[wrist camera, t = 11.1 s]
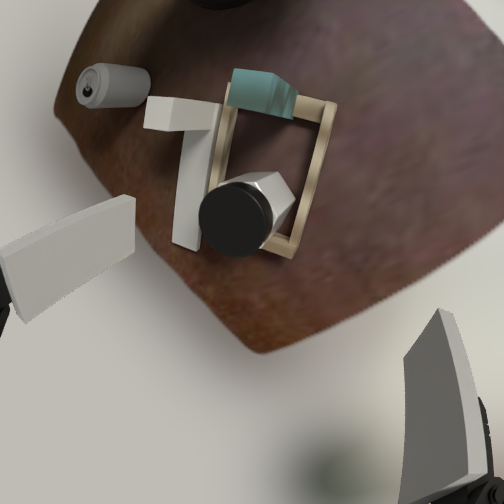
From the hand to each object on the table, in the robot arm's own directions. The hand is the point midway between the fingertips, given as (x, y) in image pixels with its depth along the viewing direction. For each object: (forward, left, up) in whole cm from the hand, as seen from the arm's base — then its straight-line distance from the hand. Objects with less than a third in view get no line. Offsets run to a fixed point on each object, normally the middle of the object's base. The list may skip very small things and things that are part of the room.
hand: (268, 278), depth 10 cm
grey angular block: (+6, -20, -29) cm, 35 cm away
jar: (+6, -8, -29) cm, 31 cm away
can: (-8, -35, -29) cm, 46 cm away
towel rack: (+1, -9, -29) cm, 30 cm away
